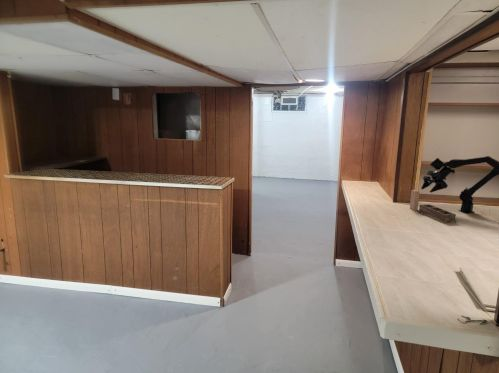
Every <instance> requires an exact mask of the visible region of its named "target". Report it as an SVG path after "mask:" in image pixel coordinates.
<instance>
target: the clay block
mask: <svg viewBox="0 0 499 373" xmlns="http://www.w3.org/2000/svg"><path fill="white" fill-rule="evenodd" d="M420 192H421V191H419V190H417V189H411V192H410V202H409V209H410V210H413V211H418V210H419V201H420V200H419V199H420Z"/></svg>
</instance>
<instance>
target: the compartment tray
mask: <svg viewBox="0 0 499 373" xmlns="http://www.w3.org/2000/svg"><path fill="white" fill-rule="evenodd" d="M417 213H419V214H421V215H424V216H426V217H428V218H430V219H432V220H434V221H437V222H439V223H442V224H447V223H450V224H451V223H457V219H456V213H453V212H451V211H448V210H445V209H443V208H440V207H437V206H436V205H432V204H430V203H428V204H427V203H426V204H424V203H423V204H419V206H418V210H417Z"/></svg>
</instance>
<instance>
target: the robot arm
mask: <svg viewBox="0 0 499 373" xmlns="http://www.w3.org/2000/svg"><path fill="white" fill-rule="evenodd" d="M477 164H478V165H479V164H487V165H489V166H490V167H492V169H491V170H490V171H489V172H488V173H487V174H486V175H484V176H483V177H482V178H481V179H480V180H478V181H477V182H475V183H474V184H473V185H472V186H470V187H469V188H468V187H465V189H464V190H461V191H460V194H459V199H460V201H462V202H461V206H460V209H459V210H458V211H459V212H462V213H465V214H472V213H474V214H475V210H474V209H473V208H474V204H475V203H474V200H475V199H474V197H472V196H473V195H474V194H475V193H476V192H477V191H478V190H479V189H481V188H482V187H483V186H484V185H486V184H487V183H488V182H490V181H492V179H493V178H495V177H497V176H499V160H497V159H495V158H493V157H491V156H489V155H485V156H481V157H480V156H479V157H473V158H464V159H461V158H453V159H450V160H449V161H445V162H444V161H442V159H440V158H439V157H436V158H435V159H434V160H433V161H432V162H431V163H430V164H429V166H430V167H432V168H433V169H434V170H432V169H431V170H428V171H427V172H426V175H423V177H422V180H423V184H422V186H421V190H424V189H426V188H428V187H430V186H431V185H432V184H433V183H434V184H435V185H434V186H433V187H432V188H431V189H430V190H429V192H430V194H433V192H436V191H440V190H444V189H447V188H448V183H447V182H446V180H447V177H448V176H449V175H450V174H451V175H454V174H455V173H456V172H455V171H456V170H455V169H456V168H460V167H464V166H470V165H477Z"/></svg>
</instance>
